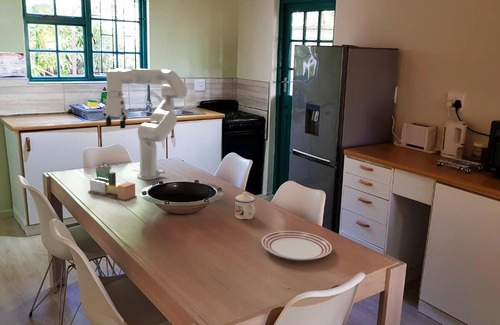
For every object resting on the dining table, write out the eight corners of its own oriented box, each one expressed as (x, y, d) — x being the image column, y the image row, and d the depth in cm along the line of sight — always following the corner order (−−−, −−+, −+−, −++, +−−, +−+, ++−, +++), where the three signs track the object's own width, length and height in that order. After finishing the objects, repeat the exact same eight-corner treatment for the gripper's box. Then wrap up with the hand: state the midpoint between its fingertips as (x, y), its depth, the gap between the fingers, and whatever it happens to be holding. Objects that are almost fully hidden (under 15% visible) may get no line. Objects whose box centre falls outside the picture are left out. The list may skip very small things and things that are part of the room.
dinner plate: (287, 231, 203) (287, 224, 202) (344, 250, 186) (344, 242, 186) (246, 250, 182) (247, 243, 182) (306, 274, 166) (307, 265, 165)
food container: (107, 186, 254) (107, 168, 251) (96, 185, 254) (95, 167, 251) (114, 180, 265) (114, 162, 263) (103, 179, 266) (103, 162, 263)
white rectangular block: (90, 190, 242) (90, 179, 240) (99, 187, 247) (98, 176, 245) (105, 194, 237) (104, 182, 236) (113, 191, 242) (113, 180, 241)
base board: (88, 192, 241) (88, 191, 241) (99, 189, 248) (99, 187, 248) (125, 202, 230) (125, 200, 230) (136, 197, 237) (136, 195, 237)
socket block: (117, 197, 233) (117, 185, 231) (127, 194, 239) (127, 181, 237) (125, 199, 231) (125, 187, 229) (135, 196, 237) (135, 183, 235)
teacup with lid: (230, 215, 219) (231, 191, 216) (245, 211, 224) (246, 188, 221) (246, 223, 209) (247, 198, 207) (261, 219, 215) (263, 195, 212)
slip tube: (105, 191, 238) (104, 172, 236) (110, 189, 242) (110, 170, 239) (125, 196, 232) (125, 177, 230) (131, 194, 236) (131, 175, 233)
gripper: (132, 95, 243) (133, 127, 247) (107, 92, 251) (108, 124, 255) (122, 96, 237) (123, 130, 241) (96, 93, 244) (98, 126, 248)
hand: (115, 127), depth 248 cm, fingers open, 9 cm apart
